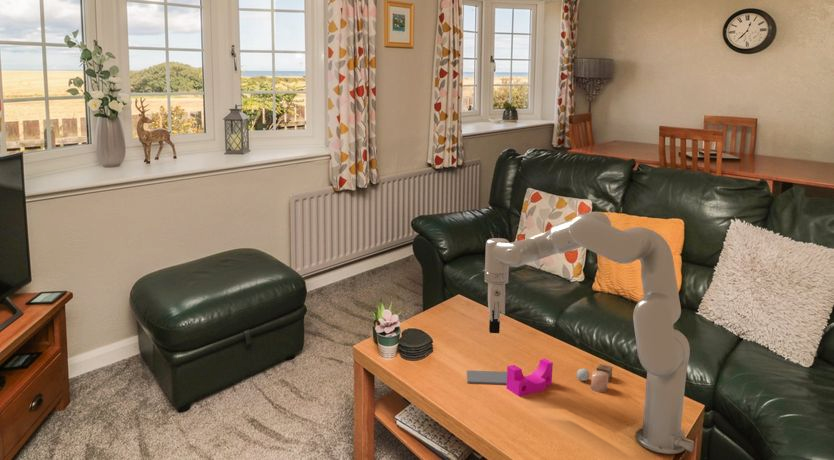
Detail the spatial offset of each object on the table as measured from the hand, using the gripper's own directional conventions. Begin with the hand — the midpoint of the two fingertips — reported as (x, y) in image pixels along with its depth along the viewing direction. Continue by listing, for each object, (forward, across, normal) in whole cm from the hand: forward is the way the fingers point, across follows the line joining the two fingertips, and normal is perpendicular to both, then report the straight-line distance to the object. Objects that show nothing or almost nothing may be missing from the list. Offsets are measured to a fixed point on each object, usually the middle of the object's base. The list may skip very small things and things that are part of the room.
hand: (494, 332), depth 187 cm
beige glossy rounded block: (+15, -5, -33) cm, 37 cm away
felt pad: (+16, 0, 0) cm, 16 cm away
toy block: (+16, -6, -12) cm, 21 cm away
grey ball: (+16, +1, -29) cm, 33 cm away
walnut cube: (+16, +3, -37) cm, 40 cm away
